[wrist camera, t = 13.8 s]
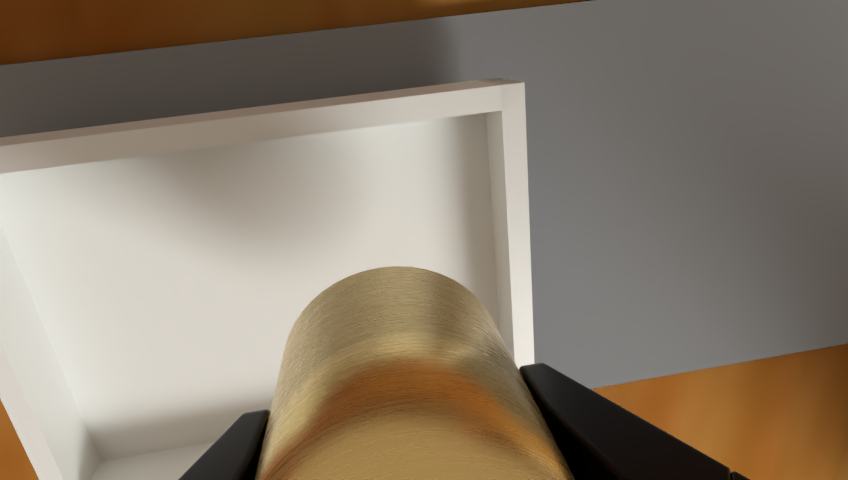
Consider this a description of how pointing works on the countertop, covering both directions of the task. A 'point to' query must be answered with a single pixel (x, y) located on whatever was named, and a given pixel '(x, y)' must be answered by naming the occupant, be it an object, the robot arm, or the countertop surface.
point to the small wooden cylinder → (403, 389)
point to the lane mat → (584, 156)
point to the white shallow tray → (235, 256)
